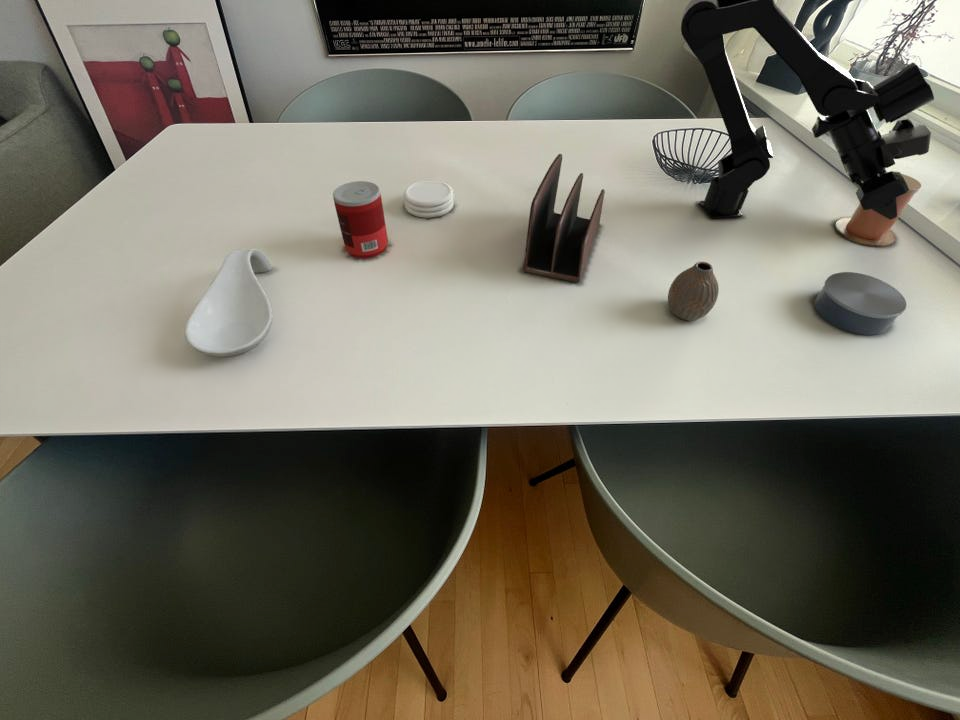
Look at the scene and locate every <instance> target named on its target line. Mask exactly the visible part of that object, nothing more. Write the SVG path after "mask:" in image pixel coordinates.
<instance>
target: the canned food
mask: <svg viewBox="0 0 960 720" xmlns="http://www.w3.org/2000/svg"><path fill="white" fill-rule="evenodd" d="M381 193H382V192H381V190H380V187H379V186H378V184H376V183H374V182H371V181H365V180H358V181H357V180H356V181H350V182H347V183H344V184H341V185H340V186H338V187H336V188H335V189H334V190H333V192H332V199H333V203H334V209H335V212H336V216H337V220H338V225H339V228H340V232H341V237H342V241H343V245H344V248H345V251H346V252H347V254H348V255H349V256H350V257H352V258H356V259H360V260H361V259H365V260H366V259H372V258H375V257H377V256H380V255H382V254H383V253H384V252H385V251H386V250H387V247H388V243H389V238H388V232H387V226H386V220H385V212H384V205H383V199H382V194H381Z"/></svg>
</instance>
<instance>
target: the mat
mask: <svg viewBox="0 0 960 720" xmlns="http://www.w3.org/2000/svg"><path fill="white" fill-rule="evenodd" d="M851 217H852V216H850V217H849V216H848V217H842V218H840V219H838V220H837V221H836V223H835V224H834V228H835V231H836V232H837V233H838V234H839V235H840V236H842V237H844V238H845V239H847V240H849V241H850V242H853V243H856V244H859V245H863V246H866V247H873V248H874V247H875V248H881V247H882V248H884V247H889V246H891V245H892V244H893V243H894V242H895V241H896V234H895V233H894V232H893V231H892V230H891V229H890V230H889V231H888V233H887V234H886V236H885V237H884V238H882V239H879V240H871V239H866V238H862V237H859V236H857V235H855V234H853V233H851V232H850V231H849V230H848V229H847V227H846V225H847V223H848V221H849V220H850V218H851Z"/></svg>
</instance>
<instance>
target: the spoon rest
mask: <svg viewBox="0 0 960 720" xmlns="http://www.w3.org/2000/svg"><path fill="white" fill-rule="evenodd" d="M272 269H273V266H272V263H271V262H270V260H269V259H268V257H267V256H266V255H265V254H264V253H263V252H262V251H261V250H259V249H257V248H250V249H245V250H244V249H233V250H231V251H230V252H229V253H228V254H227V255H226V257H225V259H224V260H223V262H222V264H221V266H220V268H219V270H218V272H217V274H215V277H214V278H213V280H212V282H211V283H210V284H209V286H208V288H206V291H205V292H204V294H203V295H202V296H201V298H200V299H199V300H198V302H197V304H196V305H195V307H194V308H193V310H192V311H191V313H190V315H189V317H188V318H187V321H186V324H185V327H184V337H185V339H186V342H187V344H188V345H189V347H191V348H192V349H193V350H195V351H197V352H198V353H201V354H204V355H207V356H213V357H234V356H238V355H241V354H244V353H246V352H250V351H251V350H253V349H255V348H256V347H257V346H258V345H260V344H261V343H263V341H264V340H265V338H266V337H267V335H268V334H269V332H270V331H271V330H270V329H271V328H272V327H271V326H272V324H273V309H272V305H271V303H270V299H268V296H267V295H266V292H265V291H264V289H263V287H262V285H261V284H260V282H259V280H258V278H257V276H256V274H257V273H265V272H270V271H272Z"/></svg>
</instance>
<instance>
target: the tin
mask: <svg viewBox="0 0 960 720" xmlns="http://www.w3.org/2000/svg"><path fill="white" fill-rule="evenodd" d="M813 303H814V304H813V305H814V309H815V310H816V312H817V314H818V315H819V316H820V317H821V318H822V319H823V320H825V321H826V322H828V323H829V324H830V325H832V326H834V327H836V328H838V329H840V330H843V331H845V332H847V333H848V332H849V333H851V334H856V335H861V336H876V335H881V334H882V333H884V332H886V331H887V330H888V329H889V328H890V327H891V325H892V324H893V323H894V322H895V320H896V319H897V318H898V317H900V316H901V315H902V314H903V313H905V311H906V309H907V300H906V299H905V296H904V295H903V294H902V293H901V292H900V291H899V290H898V289H896V288H895V287H894V286H893V285H891V284H889V283H888V282H886V281H883V280H882V279H879V278H877V277H874V276H871V275H869V274H864V273H860V272H853V271H852V272H851V271H841V272H835V273H833V274H831V275H829V276H828V277H827V278H826V279H825V281H824V284H823V286H822V288H821V290H820V292H819V293H818V294H817V296H816V298H815V299H814V301H813Z"/></svg>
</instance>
